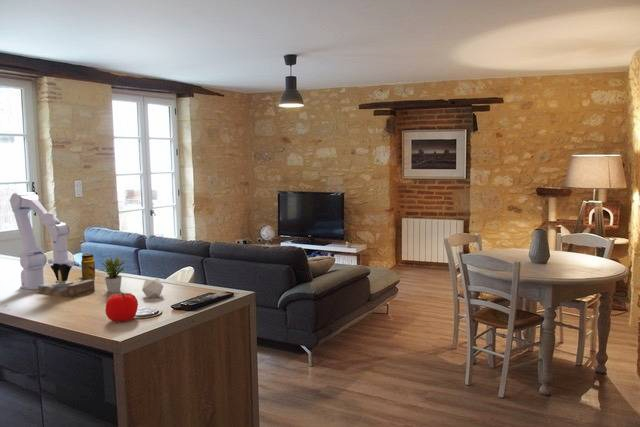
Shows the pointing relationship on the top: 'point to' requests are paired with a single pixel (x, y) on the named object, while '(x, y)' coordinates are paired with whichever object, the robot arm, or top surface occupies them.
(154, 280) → the die
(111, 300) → the tomato
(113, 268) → the house plant
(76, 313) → the top surface
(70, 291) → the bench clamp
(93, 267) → the condiment
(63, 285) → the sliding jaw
